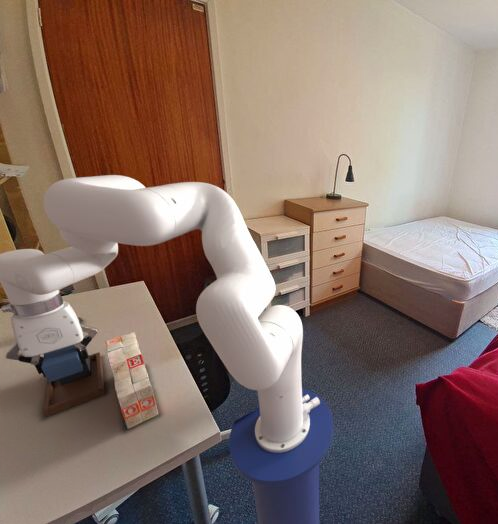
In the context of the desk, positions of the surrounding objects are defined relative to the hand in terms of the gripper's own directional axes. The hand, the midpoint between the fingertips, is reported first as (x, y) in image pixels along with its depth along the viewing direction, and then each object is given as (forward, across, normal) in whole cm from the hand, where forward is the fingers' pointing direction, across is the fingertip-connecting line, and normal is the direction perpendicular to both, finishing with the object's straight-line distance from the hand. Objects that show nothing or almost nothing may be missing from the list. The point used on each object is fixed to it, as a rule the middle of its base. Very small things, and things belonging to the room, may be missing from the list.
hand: (65, 366), depth 69 cm
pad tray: (+8, 0, +4) cm, 9 cm away
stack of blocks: (+9, +12, -10) cm, 18 cm away
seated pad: (+8, 0, +8) cm, 11 cm away
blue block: (+1, 0, 0) cm, 1 cm away
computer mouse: (+9, -3, +39) cm, 40 cm away
